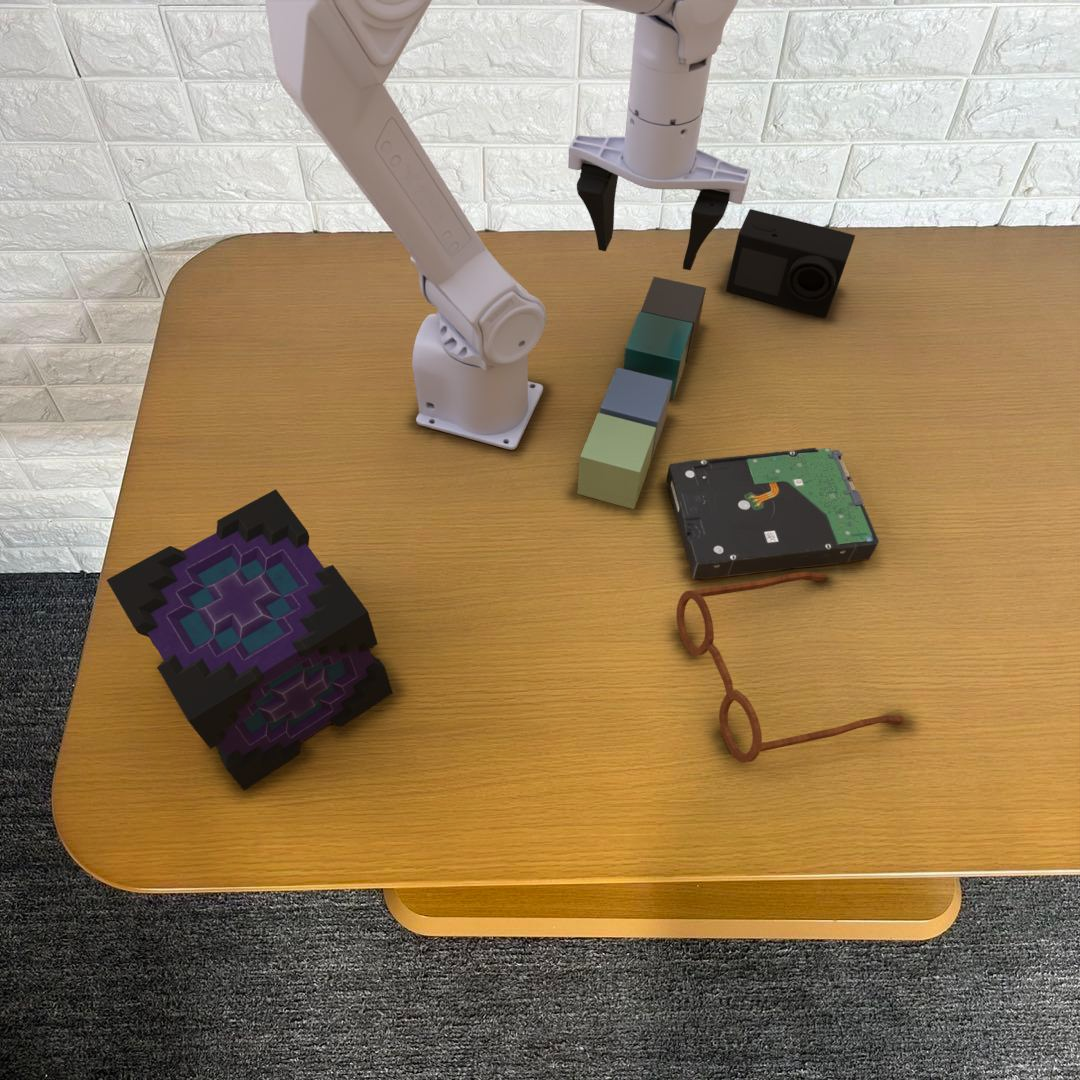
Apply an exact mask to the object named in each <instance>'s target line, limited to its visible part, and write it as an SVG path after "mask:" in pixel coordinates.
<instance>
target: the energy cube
mask: <svg viewBox="0 0 1080 1080" xmlns="http://www.w3.org/2000/svg"><path fill="white" fill-rule="evenodd" d="M309 544H310V535H309V532H308V530H307V528H306V527H305V526H304V524H303V523H302V521H301V520H300V519H299V518H298V516H297V515H296V514H295V512H294V511H293V510H292V508H291V507H290V506H289V504H288V503H287V502H286V500H285V499H284V498H283V497H282V495H281V494H280V492H279V490H277V489H276V488H275V489H273V490H271V491H270V492H268V493H266V494H264V495H262V496H260V497H258V498H257V499H254V500H252V501H251V502H249V503H247V504H245V505H243V506H242V507H240V508H237V509H236V510H234V511H232V512H230V513H228V514H226V515H225V516H223V517H221V518H219V519H217V523H216V532H214V533H213V534H211V535H209V536H208V537H205V538H204V539H202V540H200V541H198V542H196V543H194V544H193V545H190V546H189V547H187V548H185V549H183V550H181V549H179V548H176V547H174V546H173V545H168V546H167V547H165V548H163V549H161V550H159V551H158V552H156V553H153V554H152V555H150V556H148V557H146V558H144V559H143V560H141V561H139V562H136V563H135V564H133V565H132V566H130V567H128V568H125V569H124V570H122V571H120V572H118V573H117V574H114V575H113V576H111V577H108V578H107V579H106V582H107V584H108V585H109V587H110V589H111V590H112V593H113V594H114V597H116V599H117V600H118V603H119V604H120V606H121V608H122V609H123V610H122V611H124V613H125V615H126V616H127V618H128V620H129V622H130V623H131V626H132V627H133V629H134V630H135V631H136V632H137V634H138V635H142V636H145V637H147V638H149V640H150V641H151V643H152V645H153V646H154V648H155V649H156V650H157V652H158V653H159V655H160V657H161V659H162V660H163V661H162V662H161V663H160V664H159V665H158V666H157V667H156V668H157V670H158V672H159V674H160V675H161V677H162V679H163V681H164V683H165V684H166V686H167V688H168V689H169V691H170V692H171V694H172V696H173V698H174V699H175V701H176V703H177V705H178V706H179V708H180V710H181V711H182V714H183V715H184V717H185V718H186V720H187V723H189V725H190V726H191V727H192V728H193V730H194V731H195V732H196V733H197V734H198V736H199V737H200V739H202V741H203V742H204V743H205V744H206V746H207V747H208V748H209V749H210V750H212V749H214V748H216V750H217V753H218V755H219V757H220V762H222V765H223V766H224V768H225V769H226V770H227V772H228V773H229V774H230V775H231V777H232V778H233V779H234V780H235V782H236V783H237V784H238V785H239V787H240V788H241V789H242V791H246V790H248V789H249V788H251V787H252V786H254V785H255V784H257V783H258V782H260V781H262V780H263V779H264V778H267V776H269V775H270V774H272V773H274V772H275V771H276V770H278V769H280V768H281V767H282V766H284V765H287V763H289V762H290V761H291V760H293V759H294V758H296V757H298V756H299V755H300V754H301V745H302V743H303V742H304V741H306V740H307V739H308V738H310V737H312V736H313V735H316V734H317V733H318V732H319V731H321V730H322V729H325V728H326V727H327V726H328V725H331V724H333V725H336V726H338V727H341V728H342V727H344V726H345V725H347V724H348V723H349V722H351V721H353V720H354V719H356V718H357V717H359V716H360V715H362V714H363V713H365V712H366V711H368V710H369V709H371V708H373V707H374V706H375V705H377V704H379V703H380V702H381V701H384V700H385V699H386V698H388V697H390V696H391V695H392V694H394V692H393V689H392V686H391V682H390V679H389V675H388V672H387V668H386V666H385V665H384V663H383V662H382V660H380V658H377V657H375V655H374V654H372V649H373V648H374V647H376V646H377V645H379V643H378V639H377V636H376V633H375V629H374V627H373V623H372V620H371V616H370V613H369V611H368V610H367V608H366V607H365V605H364V604H363V603H362V601H361V600H360V598H359V597H358V596H357V595H356V593H355V592H354V591H353V589H352V588H351V587H350V585H349V584H348V582H347V581H346V580H345V579H344V577H343V576H342V575H341V574H340V572H339V571H338V569H337V568H336V567H335V565H334V564H332V565H328V566H325V567H324V565H323V564H322V563H321V562H320V559H318V557H317V556H316V555H315V553H314V552H313V551H312V550H311V548H310V547H309V546H310V545H309Z"/></svg>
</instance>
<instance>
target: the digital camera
mask: <svg viewBox="0 0 1080 1080" xmlns="http://www.w3.org/2000/svg"><path fill="white" fill-rule="evenodd" d="M855 238H856V235H855V234H852V233H848V232H844V231H840V230H837V229H833V228H830V227H825V226H822V225H817V224H813V223H810V222H806V221H801V220H797V219H793V218H789V217H785V216H781V215H777V214H772V213H768V212H764V211H759V210H756V209H752V208H750V209H749V210H748V212H747V214H746V216H745V218H744V220H743V223H742V226H741V228H740V230H739V232H738V234H737V239H736V243H735V248H734V252H733V256H732V260H731V266H730V269H729V274H728V277H727V278H728V279H727V284H726V288H725V291H727V292H730V293H733V294H737V295H740V296H744V297H748V298H752V299H755V300H759V301H762V302H765V303H768V304H769V303H770V304H772V305H777V306H781V307H784V308H788V309H792V310H795V311H799V312H803V313H807V314H810V315H815V316H818V317H821V318H825V319H826V318H828V316H829V312H830V309H831V307H832V304H833V302H834V299H835V295H836V292H837V290H838V287H839V285H840V282H841V278H842V276H843V273H844V270H845V267H846V264H847V261H848V259H849V255H850V253H851V250H852V247H853V245H854V244H853V243H854V242H855Z"/></svg>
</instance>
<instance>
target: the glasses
mask: <svg viewBox="0 0 1080 1080" xmlns="http://www.w3.org/2000/svg"><path fill="white" fill-rule="evenodd" d="M827 579H829V576H828V574H827V573H823V572H813V571H802V572H801V571H800V572H795V573H788V574H783V575H778V576H773V577H770V578H766V579H761V580H754V581H748V582H740V583H734V584H727V585H719V586H712V587H707V588H705V587H704V588H700V589H690V590H686V591H684V592H683V593H682V594H681V595H680V597H679V600H678V602H677V606H676V623H677V628H678V632H679V636H680V638H681V640H682V642H683V645H684V647H685V648H686V650H687V651H688V652H689V653H690V654H691V655H692V656H696V657H697V656H701V655H704V654H706V653H707V652H708V653H709V654H710V655H711V657H712V660H713V662H714V664H715V667H716V669H717V671H718V674H719V676H720V678H721V680H722V683H723V685H724V689H725V695H724V697H723V699H722V701H721V704H720V707H719V713H718V718H719V720H718V721H719V726H720V730H721V731H720V732H721V734H722V737H723V740H724V742H725V745H726V746H727V749H728V751H729V752H730V753H731V755H732V757H733V758H734V759H735V760H737V762H739V763H741V764H742V763H743V764H746V763H750V762H754V761H755V760H756V759H757V758H758V757H759V754H760V753H763V752H766V751H771V750H775V749H776V750H777V749H780V748H785V747H789V746H794V745H799V744H803V743H808V742H813V741H818V740H821V739H826V738H827V739H828V738H831V737H836V736H839V735H841V734H842V735H843V734H845V733H848V732H851V731H854V730H857V729H860V728H865V727H868V726H873V725H877V724H893V725H894V724H895V725H896V724H900V723H904V722H906V721H905V720H906V719H905V718H904V715H892V714H891V715H889V714H887V715H886V714H885V715H879V716H874V717H869V718H865V719H859V720H856V721H853V722H850V723H847V724H843V725H840V726H835V727H831V728H827V729H822V730H817V731H813V732H809V733H808V732H807V733H803V734H798V735H793V736H789V737H784V738H780V739H774V740H771V741H766V742H763V736H762V728H761V724H760V721H759V718H758V715H757V712H756V710H755V708H754V706H753V705H752V703H751V701H750V700H749V699H748V698H747V696H746V695H745V694H744V693H742V692H741V691H740V690H738V689H734V686H733V685H734V684H733V681H732V677H731V675H730V672H729V669H728V668H727V665H726V663H725V661H724V659H723V656H722V654H721V652H720V650H719V649H718V647H717V646H716V645H715V644H714V639H715V633H714V631H715V630H714V622H713V618H712V617H713V616H712V614H711V611H710V608H709V606H708V604H707V601H706V599H705V597H713V596H719V595H726V594H732V593H733V594H734V593H740V592H747V591H752V590H759V589H765V588H768V587H772V586H777V585H780V584H784V583H790V582H796V581H800V580H802V581H803V580H804V581H814V582H824V581H826V580H827ZM690 600H693V601H694V602H695V603H696V605H697V606H698V608H699V610H700V613H701V615H702V619H703V624H704V638H703V641H702V643H701V644H700V645H699V646H697V645H695V644H694V642H693V641H692V639H691V637H690V635H689V632H688V630H687V625H686V621H685V612H686V607H687V604H688V602H689V601H690ZM734 701H735V702H737V703H738V704H739V705H740V706H741V707H742V709H743V710H744V712H745V714H746V716H747V719H748V721H749V725H750V729H751V736H752V738H751V739H752V740H751V742H752V743H751V746H750V748H749V750H748V751H747V753H745V752H743V751H742V750H741V749H740V748H739V747H738V745H737V743H736V742H735V741H734V737H733V735H732V733H731V730H730V725H729V719H728V718H729V710H730V707H731V706H732V703H733V702H734Z"/></svg>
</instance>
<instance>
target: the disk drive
mask: <svg viewBox="0 0 1080 1080" xmlns="http://www.w3.org/2000/svg"><path fill="white" fill-rule="evenodd" d="M842 456H844V454H843V452H841V450H840V449H835V450H832V449H831V448H830V447H825V448H817V447H809V448H808V447H807V448H802V449H801V448H800V449H795V450H793V449H792V450H784V451H774V452H765V453H755V454H746V455H736V456H726V457H716V458H715V457H714V458H709V459H694V460H693V459H692V460H685V461H679V462H673V463H670V464H669V465H668V470H667V475H666V481H665V482H666V484H667V489H668V492H669V495H670V500H671V504H672V508H673V511H674V514H675V518H676V519H675V520H676V522H677V523H676V524H677V526H678V530H679V533H680V536H681V540H682V544H683V545H682V546H683V549H684V551H685V555H686V559H687V561H688V563H689V564H688V565H689V568H690V573H691V577H692V579H693V580H698V579H703V580H704V579H715V578H723V577H732V576H741V575H749V574H758V573H766V572H775V571H781V570H785V569H787V570H789V569H802V568H808V567H818V566H825V565H826V566H827V565H835V564H843V563H851V562H856V561H863V560H871V558H872V556H873V554H874V553H875V551H876V549H877V547H878V545H879V544H880V540H879V538H878V535H877V532H876V531H875V528H874V526H873V524H872V521H871V519H870V517H869V514H868V512H867V510H866V507H865V505H864V501H863V498H862V496H861V494H860V492H859V490H857V488H856V486H855V484H854V482H853V479H852V476H851V475H850V471H849V469H848V468H847V465H846V463H845V461H844V459H843V458H842Z"/></svg>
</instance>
